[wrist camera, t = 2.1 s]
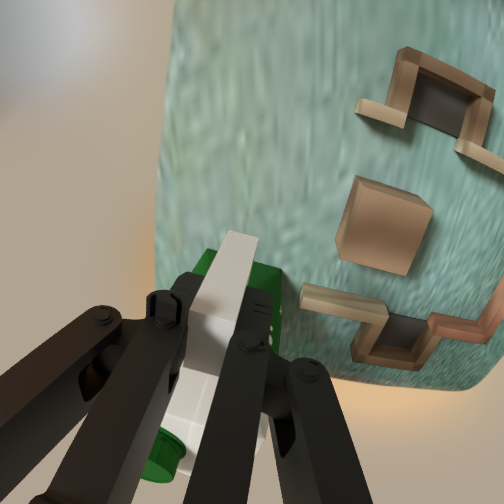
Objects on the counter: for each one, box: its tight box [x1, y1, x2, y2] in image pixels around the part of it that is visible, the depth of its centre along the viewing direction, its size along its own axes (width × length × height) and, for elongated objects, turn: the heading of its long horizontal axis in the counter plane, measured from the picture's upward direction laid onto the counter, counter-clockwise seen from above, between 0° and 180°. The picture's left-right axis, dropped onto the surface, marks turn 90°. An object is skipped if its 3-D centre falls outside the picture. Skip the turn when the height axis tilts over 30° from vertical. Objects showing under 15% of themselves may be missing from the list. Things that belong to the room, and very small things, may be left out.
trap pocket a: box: [385, 46, 496, 147], centre depth 20 cm, size 5×8×2 cm, turn 78°
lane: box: [300, 98, 504, 345], centre depth 25 cm, size 18×23×2 cm
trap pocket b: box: [350, 313, 442, 372], centre depth 31 cm, size 5×8×2 cm, turn 78°
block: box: [335, 175, 433, 276], centre depth 25 cm, size 6×6×4 cm
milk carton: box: [141, 248, 282, 483], centre depth 23 cm, size 9×9×20 cm
